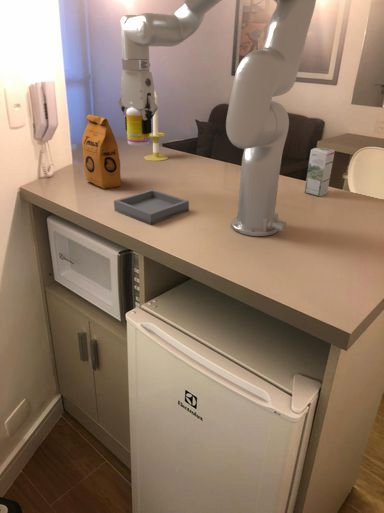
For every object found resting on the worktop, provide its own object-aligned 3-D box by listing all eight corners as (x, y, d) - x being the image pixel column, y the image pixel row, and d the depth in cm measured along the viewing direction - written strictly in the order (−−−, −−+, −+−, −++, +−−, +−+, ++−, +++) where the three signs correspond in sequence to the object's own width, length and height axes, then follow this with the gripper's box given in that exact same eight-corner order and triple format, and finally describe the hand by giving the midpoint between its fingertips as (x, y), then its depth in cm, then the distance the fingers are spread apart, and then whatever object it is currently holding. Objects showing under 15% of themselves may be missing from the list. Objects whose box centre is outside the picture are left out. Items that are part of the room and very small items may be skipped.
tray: (188, 210, 120) (188, 201, 119) (150, 225, 110) (150, 214, 109) (152, 198, 129) (152, 189, 128) (114, 210, 119) (113, 200, 118)
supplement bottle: (146, 147, 122) (144, 100, 116) (124, 145, 123) (122, 99, 118) (152, 142, 128) (151, 98, 122) (132, 141, 129) (130, 97, 123)
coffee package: (99, 191, 134) (93, 120, 124) (82, 181, 143) (75, 114, 133) (125, 186, 140) (122, 117, 130) (108, 177, 148) (103, 112, 138)
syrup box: (327, 193, 138) (335, 149, 132) (319, 197, 134) (327, 152, 128) (312, 189, 142) (319, 146, 135) (303, 193, 138) (310, 149, 131)
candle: (158, 154, 181) (157, 87, 169) (172, 158, 175) (173, 90, 162) (139, 157, 175) (137, 88, 163) (154, 162, 169) (152, 91, 156)
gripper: (167, 67, 113) (167, 134, 122) (126, 64, 124) (129, 126, 132) (147, 67, 108) (149, 137, 116) (105, 65, 119) (110, 129, 127)
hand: (138, 131), depth 124 cm, fingers closed on supplement bottle, 6 cm apart
